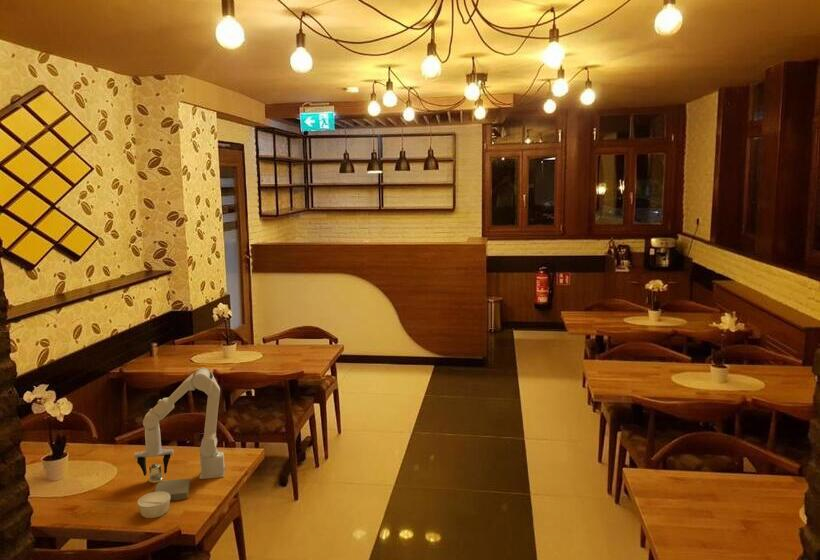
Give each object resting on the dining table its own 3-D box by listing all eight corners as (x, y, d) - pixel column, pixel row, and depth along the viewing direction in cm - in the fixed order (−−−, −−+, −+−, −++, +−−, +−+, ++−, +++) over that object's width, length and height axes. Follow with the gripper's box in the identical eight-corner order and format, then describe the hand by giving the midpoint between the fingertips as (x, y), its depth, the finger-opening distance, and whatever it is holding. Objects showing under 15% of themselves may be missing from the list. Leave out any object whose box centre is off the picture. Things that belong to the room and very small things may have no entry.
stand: (190, 484, 254) (190, 478, 254) (187, 498, 242) (186, 492, 242) (158, 487, 251) (158, 481, 251) (153, 502, 240) (153, 496, 239)
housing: (164, 476, 261) (162, 461, 260) (162, 482, 256) (160, 466, 255) (150, 478, 260) (149, 462, 259) (148, 483, 255) (146, 468, 254)
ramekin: (138, 522, 226) (137, 509, 225) (138, 508, 236) (137, 494, 235) (172, 516, 230) (171, 502, 230) (170, 501, 240) (169, 488, 240)
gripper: (173, 435, 261) (175, 467, 263) (135, 439, 257) (138, 470, 260) (171, 442, 254) (173, 474, 256) (132, 446, 251) (134, 478, 253)
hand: (155, 473), depth 257 cm, fingers open, 7 cm apart
